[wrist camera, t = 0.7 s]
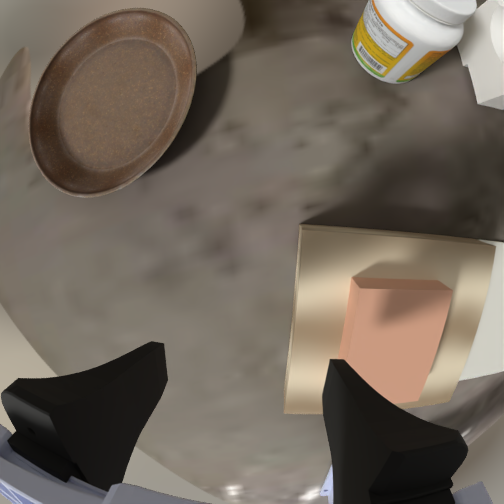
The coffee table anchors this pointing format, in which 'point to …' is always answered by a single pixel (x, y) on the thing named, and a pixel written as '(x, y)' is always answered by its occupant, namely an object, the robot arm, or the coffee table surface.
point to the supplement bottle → (407, 35)
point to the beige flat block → (389, 267)
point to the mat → (489, 325)
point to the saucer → (111, 101)
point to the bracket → (485, 52)
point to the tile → (394, 333)
